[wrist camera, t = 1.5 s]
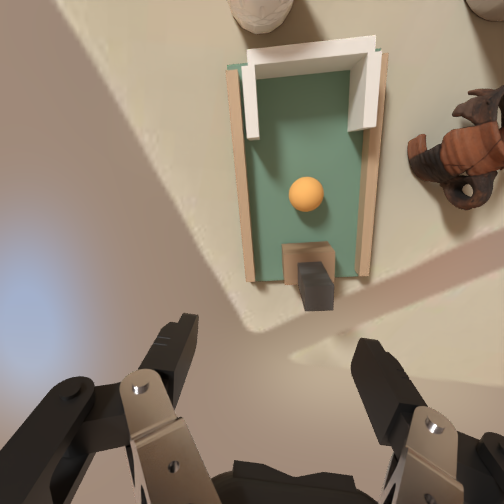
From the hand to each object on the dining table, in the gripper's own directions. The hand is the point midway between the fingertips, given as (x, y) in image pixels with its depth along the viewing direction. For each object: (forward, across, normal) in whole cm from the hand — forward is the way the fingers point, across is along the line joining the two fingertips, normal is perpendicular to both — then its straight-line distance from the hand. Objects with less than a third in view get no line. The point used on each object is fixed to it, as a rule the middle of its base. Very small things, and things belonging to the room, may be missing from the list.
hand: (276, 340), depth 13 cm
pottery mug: (+24, -20, -12) cm, 33 cm away
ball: (+20, -4, -5) cm, 21 cm away
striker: (+22, -5, +4) cm, 23 cm away
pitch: (+23, -4, -6) cm, 24 cm away
